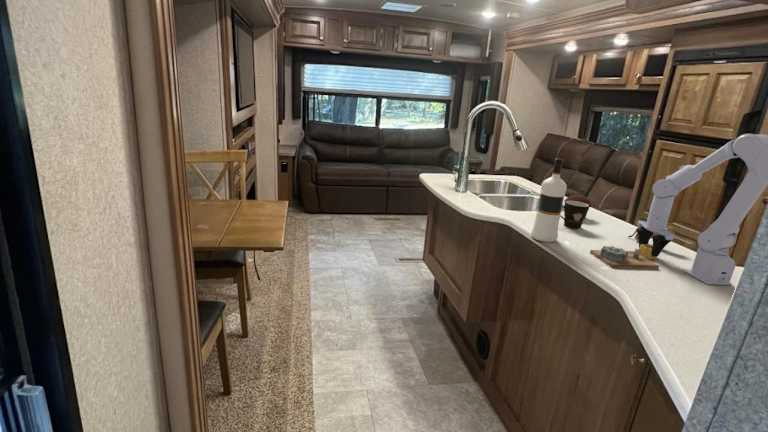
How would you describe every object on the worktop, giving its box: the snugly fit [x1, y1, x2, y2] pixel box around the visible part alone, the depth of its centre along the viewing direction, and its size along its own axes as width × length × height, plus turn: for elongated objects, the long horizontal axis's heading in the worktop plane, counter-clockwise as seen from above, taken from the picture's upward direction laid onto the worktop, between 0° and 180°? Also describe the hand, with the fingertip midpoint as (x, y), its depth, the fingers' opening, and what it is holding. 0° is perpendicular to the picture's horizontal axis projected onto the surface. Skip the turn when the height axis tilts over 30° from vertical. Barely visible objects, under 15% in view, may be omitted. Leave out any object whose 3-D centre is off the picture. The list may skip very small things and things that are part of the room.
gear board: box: [589, 245, 660, 270], centre depth 133 cm, size 12×16×4 cm
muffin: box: [563, 193, 592, 220], centre depth 182 cm, size 12×11×10 cm
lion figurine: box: [627, 225, 676, 244], centre depth 151 cm, size 15×5×9 cm, turn 34°
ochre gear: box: [638, 243, 658, 260], centre depth 140 cm, size 6×6×4 cm
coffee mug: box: [560, 201, 589, 230], centre depth 167 cm, size 12×9×10 cm
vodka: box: [530, 157, 567, 244], centre depth 146 cm, size 9×9×30 cm
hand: (648, 252), depth 140 cm, fingers closed on ochre gear, 5 cm apart
